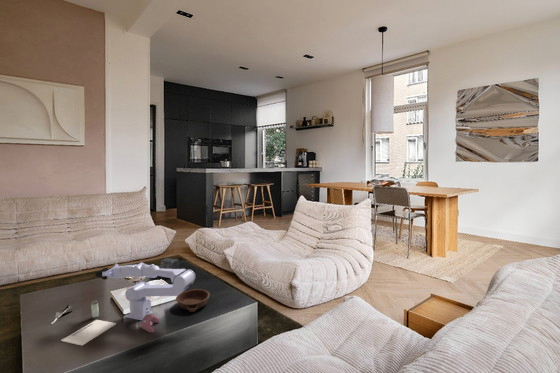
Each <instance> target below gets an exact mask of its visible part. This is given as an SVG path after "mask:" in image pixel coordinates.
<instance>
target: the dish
mask: <svg viewBox="0 0 560 373" xmlns="http://www.w3.org/2000/svg"><path fill="white" fill-rule="evenodd" d="M210 295H211V294H210V291H207V290H206V289H202V288H200V289H198V288H193V289H188V290H184V291H183V292H182V293H181V294H179V295H178V296H175V297H176V298H175V301H176V302H177V303H178V306H179V307H180V308H181V309H183V310H186V311H188V312H190V313H193V312H196V311H197V310H198V309H201V308H203V307H205V305H207V303H208V301H209V298H210Z"/></svg>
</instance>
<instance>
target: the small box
mask: <svg viewBox="0 0 560 373" xmlns="http://www.w3.org/2000/svg"><path fill="white" fill-rule="evenodd" d="M179 261H180V260H179V259H174V258H168V257H167V258H164V259H161V260H160V261H159V262H160V269H180V262H179Z"/></svg>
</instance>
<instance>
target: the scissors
mask: <svg viewBox="0 0 560 373" xmlns="http://www.w3.org/2000/svg"><path fill="white" fill-rule="evenodd" d="M71 309H72V307H69V304H68V305H66V307H65V308H64V310H63V311H62V312H59V311H56V312H55V316H54V320H52V321H51V323H50V325H53V324H54V323H55V322H57V321H58V320H59V319H61V318H63V317H65V316H66V315H68V314H70V313H72V312H73V310H71ZM69 310H71V311H69Z"/></svg>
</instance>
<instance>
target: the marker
mask: <svg viewBox="0 0 560 373" xmlns="http://www.w3.org/2000/svg"><path fill="white" fill-rule="evenodd" d="M90 306H91V310H90V311H91V319H93V320H98V319H99V318H100V311H99V310H100V308H99V300H93V301H90Z"/></svg>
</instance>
